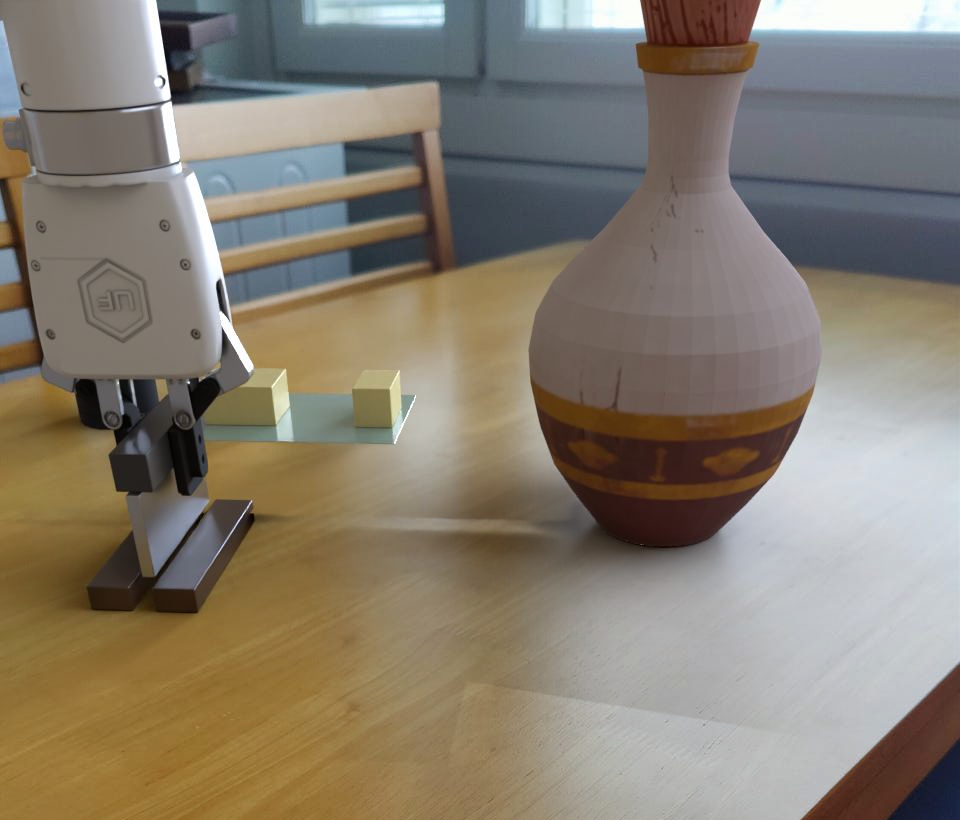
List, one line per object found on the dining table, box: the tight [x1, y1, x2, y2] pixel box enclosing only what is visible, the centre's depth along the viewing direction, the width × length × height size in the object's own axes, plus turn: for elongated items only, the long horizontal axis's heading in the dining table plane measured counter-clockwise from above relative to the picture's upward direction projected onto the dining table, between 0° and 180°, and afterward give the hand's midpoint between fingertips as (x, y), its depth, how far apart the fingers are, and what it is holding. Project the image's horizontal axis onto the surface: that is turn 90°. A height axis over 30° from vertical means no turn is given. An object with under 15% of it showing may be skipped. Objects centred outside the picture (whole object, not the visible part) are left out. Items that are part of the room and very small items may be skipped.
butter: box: [203, 367, 290, 426], centre depth 97 cm, size 6×5×3 cm
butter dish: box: [203, 392, 417, 445], centre depth 98 cm, size 18×12×1 cm, turn 84°
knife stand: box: [86, 498, 256, 613], centre depth 77 cm, size 7×14×2 cm, turn 174°
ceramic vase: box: [527, 0, 822, 547], centre depth 73 cm, size 20×18×30 cm
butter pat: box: [351, 369, 402, 428], centre depth 96 cm, size 3×5×3 cm, turn 175°
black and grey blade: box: [108, 393, 211, 577], centre depth 74 cm, size 12×2×7 cm, turn 174°
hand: (168, 485), depth 74 cm, fingers closed on black and grey blade, 2 cm apart
